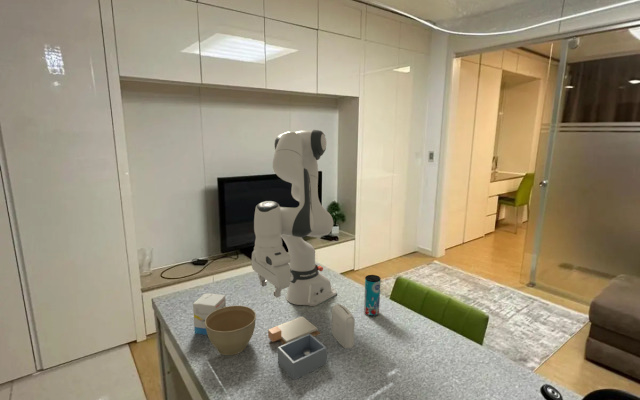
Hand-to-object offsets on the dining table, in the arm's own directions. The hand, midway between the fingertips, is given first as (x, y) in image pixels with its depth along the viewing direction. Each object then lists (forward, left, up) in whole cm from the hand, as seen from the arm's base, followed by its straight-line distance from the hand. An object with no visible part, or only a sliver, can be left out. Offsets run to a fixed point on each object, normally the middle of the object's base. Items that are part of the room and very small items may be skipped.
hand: (270, 290), depth 112 cm
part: (-5, +15, -18) cm, 24 cm away
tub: (-2, +17, -18) cm, 25 cm away
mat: (-9, +2, -18) cm, 20 cm away
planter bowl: (+12, -4, -19) cm, 23 cm away
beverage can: (-41, +8, -19) cm, 45 cm away
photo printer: (-20, +15, -19) cm, 31 cm away
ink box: (+14, -19, -19) cm, 30 cm away
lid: (-7, +2, -18) cm, 19 cm away
